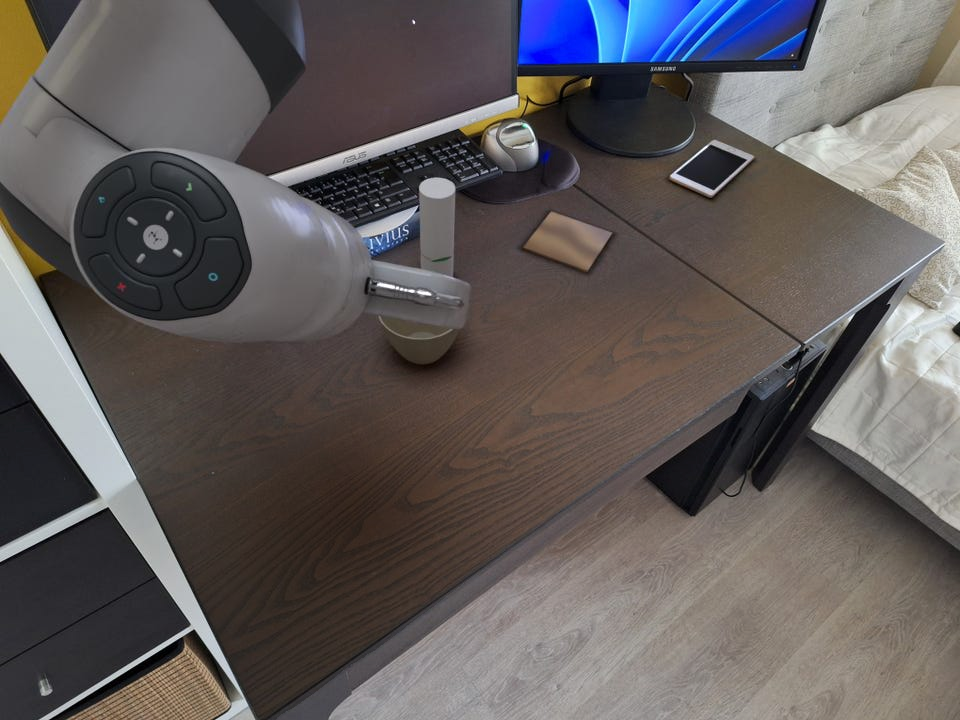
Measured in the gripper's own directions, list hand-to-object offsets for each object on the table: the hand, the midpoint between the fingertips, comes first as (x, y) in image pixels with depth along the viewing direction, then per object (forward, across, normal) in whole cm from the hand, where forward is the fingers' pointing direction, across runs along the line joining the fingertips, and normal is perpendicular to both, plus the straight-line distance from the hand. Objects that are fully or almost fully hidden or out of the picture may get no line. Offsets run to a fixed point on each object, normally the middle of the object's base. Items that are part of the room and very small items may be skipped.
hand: (360, 287), depth 57 cm
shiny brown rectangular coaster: (+44, -16, -13) cm, 48 cm away
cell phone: (+62, -38, -31) cm, 79 cm away
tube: (+34, 0, -3) cm, 35 cm away
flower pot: (+26, -1, +6) cm, 26 cm away
